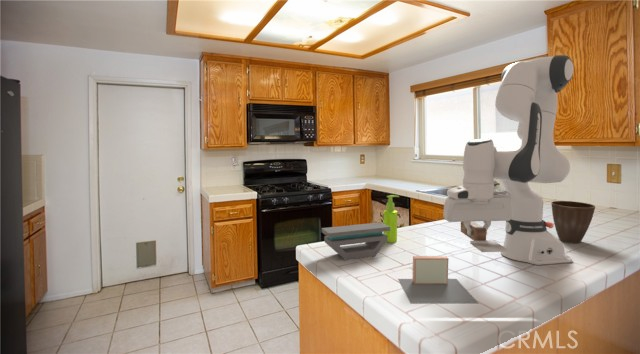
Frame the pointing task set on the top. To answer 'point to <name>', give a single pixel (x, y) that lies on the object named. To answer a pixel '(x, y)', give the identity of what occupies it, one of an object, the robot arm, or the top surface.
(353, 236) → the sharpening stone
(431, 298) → the mat
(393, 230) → the soap dispenser
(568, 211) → the plant pot
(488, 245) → the turner
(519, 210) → the robot arm
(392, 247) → the top surface
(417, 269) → the tile
